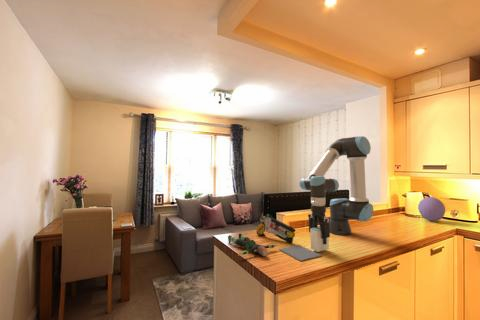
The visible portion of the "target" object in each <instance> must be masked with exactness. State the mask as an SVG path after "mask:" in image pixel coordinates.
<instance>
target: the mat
mask: <svg viewBox="0 0 480 320" xmlns="http://www.w3.org/2000/svg"><path fill="white" fill-rule="evenodd" d="M278 250H279V251H280V252H281V253H283V254H286V255H287V256H289V257H291V258H293V259H295V260H297V261H298V262H305V261H309V260H312V259H313V260H314V259H317V258H321V257H323V255H322V254H320V253H319V252H317V251H315V250H312V249H309V248H306V247H305V246H302V245H300V244H298V245H293V246H287V247H283V248H282V247H281V248H279V249H278Z"/></svg>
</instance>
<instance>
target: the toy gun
mask: <svg viewBox="0 0 480 320" xmlns="http://www.w3.org/2000/svg"><path fill="white" fill-rule="evenodd" d="M259 220H260V224H259V225H258V226H257V227H256V235H258V236H260V237H261V238H262V236H263V237H265V236H266V234H265V232H266V233H268V234H271V235H274V236H276V237H277V238H279V239H281V240H282V241H284V242H286V243H287V244H291V245H292V244H293V242H294V237H295V236H296V233H295V232H296V229H295V228H294V227H292V226H289V225H288V224H287V223H284V222H282V221H280V220H278V219H276V218H274V217H273V216H272V215H271V214H266V215H263V216H262V217H259Z"/></svg>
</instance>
